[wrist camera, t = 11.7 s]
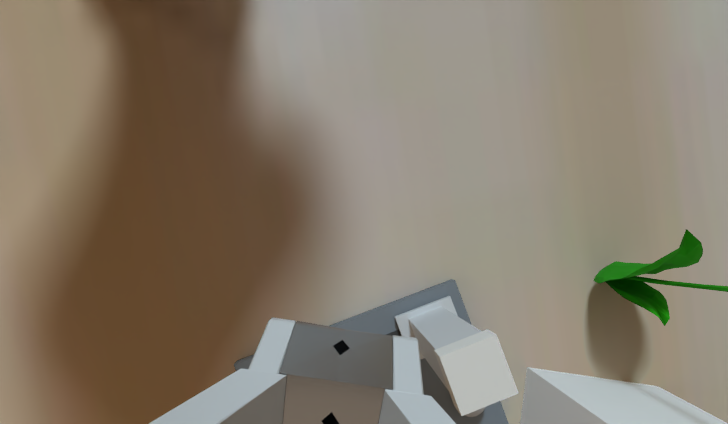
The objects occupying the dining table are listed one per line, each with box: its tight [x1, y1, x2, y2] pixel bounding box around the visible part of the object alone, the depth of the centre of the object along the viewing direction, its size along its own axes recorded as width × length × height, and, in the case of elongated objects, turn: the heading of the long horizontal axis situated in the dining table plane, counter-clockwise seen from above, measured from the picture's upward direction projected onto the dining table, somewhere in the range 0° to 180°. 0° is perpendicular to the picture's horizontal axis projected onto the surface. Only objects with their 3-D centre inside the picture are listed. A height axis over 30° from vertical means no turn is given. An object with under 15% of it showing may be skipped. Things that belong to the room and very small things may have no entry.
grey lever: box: [395, 296, 518, 416], centre depth 33 cm, size 5×4×14 cm
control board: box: [234, 279, 508, 424], centre depth 39 cm, size 20×13×2 cm, turn 110°
